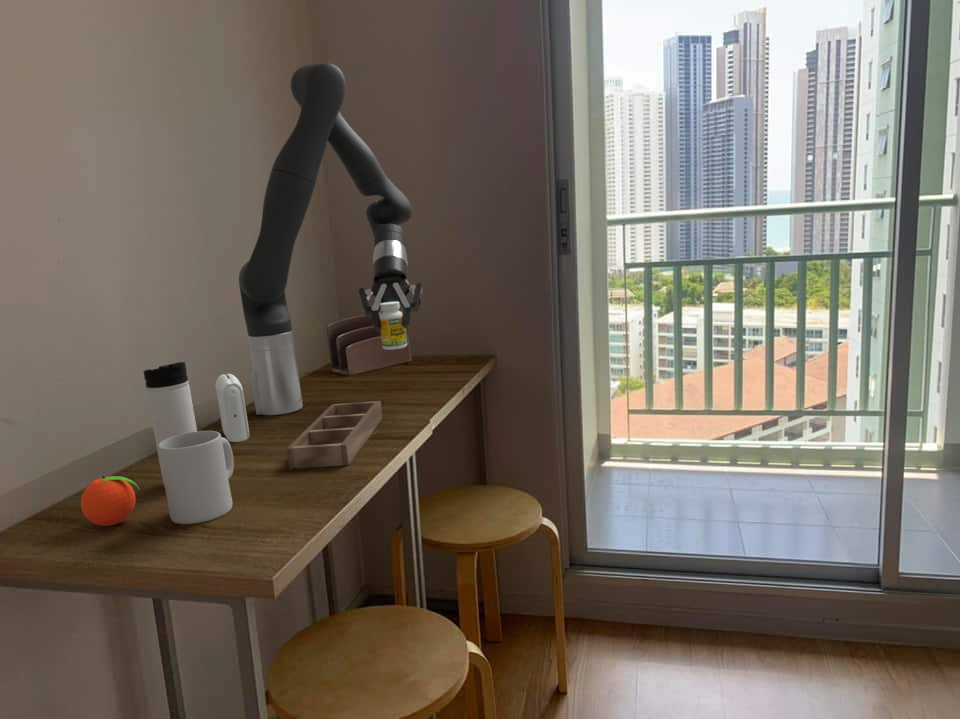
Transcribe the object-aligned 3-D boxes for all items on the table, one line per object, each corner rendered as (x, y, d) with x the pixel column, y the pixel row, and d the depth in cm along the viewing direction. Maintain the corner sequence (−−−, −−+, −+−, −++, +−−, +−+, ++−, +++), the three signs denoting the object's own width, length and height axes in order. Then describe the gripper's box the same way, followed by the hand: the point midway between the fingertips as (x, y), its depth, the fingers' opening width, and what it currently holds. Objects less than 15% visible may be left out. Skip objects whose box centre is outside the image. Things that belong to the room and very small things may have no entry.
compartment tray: (289, 468, 122) (286, 448, 121) (333, 421, 149) (331, 404, 148) (348, 465, 121) (346, 444, 120) (382, 417, 148) (380, 400, 148)
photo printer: (252, 439, 141) (242, 376, 139) (229, 444, 139) (219, 380, 137) (243, 427, 150) (233, 368, 148) (221, 432, 148) (211, 372, 146)
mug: (206, 526, 101) (193, 449, 99) (157, 522, 104) (143, 448, 101) (259, 493, 112) (248, 423, 110) (213, 490, 115) (202, 423, 112)
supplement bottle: (398, 344, 161) (393, 300, 159) (412, 346, 157) (407, 301, 155) (377, 348, 157) (372, 304, 155) (391, 350, 153) (386, 305, 151)
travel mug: (181, 493, 115) (159, 367, 111) (155, 487, 118) (133, 366, 114) (214, 479, 120) (194, 359, 116) (189, 474, 123) (168, 357, 120)
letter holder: (331, 372, 200) (324, 321, 197) (392, 358, 212) (387, 310, 209) (349, 376, 192) (342, 323, 189) (412, 362, 204) (406, 311, 202)
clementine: (153, 510, 109) (145, 464, 107) (138, 529, 102) (128, 481, 100) (97, 517, 108) (87, 471, 106) (77, 537, 101) (67, 488, 100)
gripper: (354, 257, 160) (354, 319, 151) (420, 251, 160) (424, 313, 151) (360, 279, 166) (360, 340, 157) (424, 273, 167) (427, 334, 157)
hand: (391, 326), depth 154 cm, fingers closed on supplement bottle, 5 cm apart
